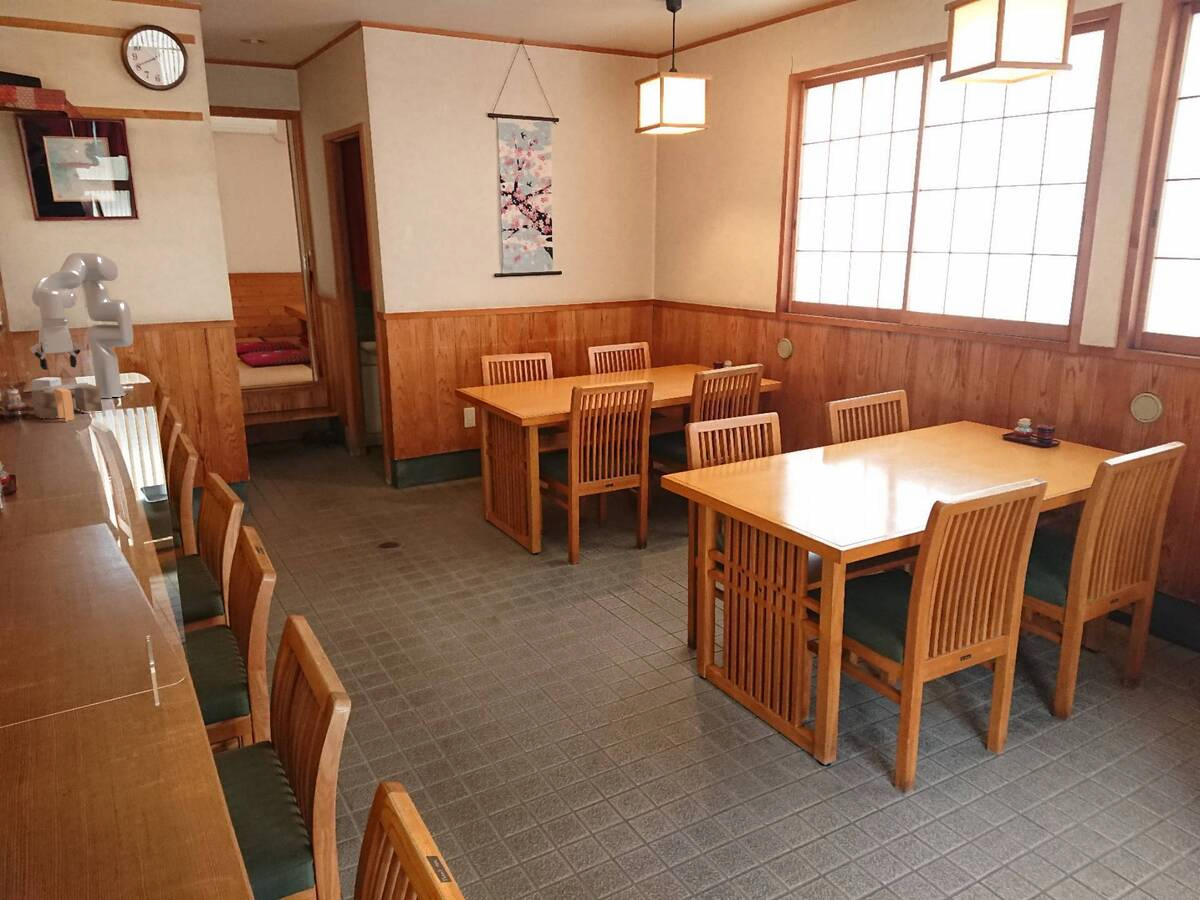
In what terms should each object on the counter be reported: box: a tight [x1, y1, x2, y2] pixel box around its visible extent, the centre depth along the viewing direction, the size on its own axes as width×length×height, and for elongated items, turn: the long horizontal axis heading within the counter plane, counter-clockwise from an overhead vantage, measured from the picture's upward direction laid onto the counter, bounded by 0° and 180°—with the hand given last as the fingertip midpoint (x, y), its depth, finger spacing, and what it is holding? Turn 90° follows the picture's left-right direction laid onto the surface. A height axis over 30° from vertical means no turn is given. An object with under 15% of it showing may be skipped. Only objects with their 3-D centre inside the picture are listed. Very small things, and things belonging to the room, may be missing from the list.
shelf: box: [30, 383, 103, 420], centre depth 333 cm, size 21×10×10 cm, turn 140°
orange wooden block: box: [54, 388, 75, 422], centre depth 322 cm, size 3×8×12 cm, turn 50°
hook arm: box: [42, 382, 90, 392], centre depth 332 cm, size 16×2×2 cm, turn 140°
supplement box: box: [32, 376, 63, 390], centre depth 340 cm, size 7×7×13 cm
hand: (59, 368), depth 318 cm, fingers open, 9 cm apart
